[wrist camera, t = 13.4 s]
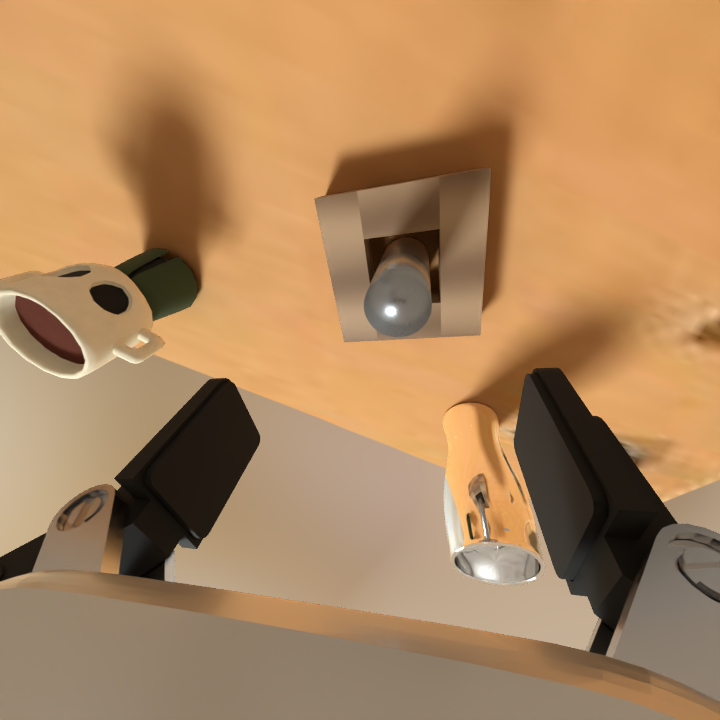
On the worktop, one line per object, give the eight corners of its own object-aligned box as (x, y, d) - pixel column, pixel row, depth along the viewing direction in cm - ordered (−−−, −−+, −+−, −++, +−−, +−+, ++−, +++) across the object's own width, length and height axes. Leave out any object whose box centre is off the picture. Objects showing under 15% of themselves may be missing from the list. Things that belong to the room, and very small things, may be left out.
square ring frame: (325, 195, 24) (314, 198, 21) (483, 167, 21) (491, 167, 19) (350, 327, 30) (344, 342, 28) (475, 319, 27) (480, 335, 25)
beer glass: (516, 417, 33) (573, 571, 20) (473, 450, 36) (499, 595, 24) (464, 388, 32) (492, 530, 19) (426, 425, 35) (428, 562, 23)
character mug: (229, 279, 29) (120, 343, 19) (213, 330, 33) (114, 407, 23) (124, 215, 28) (-62, 246, 17) (120, 277, 32) (-34, 333, 21)
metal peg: (379, 240, 25) (358, 277, 17) (427, 234, 24) (430, 270, 16) (384, 286, 27) (368, 338, 19) (429, 281, 26) (432, 335, 18)
